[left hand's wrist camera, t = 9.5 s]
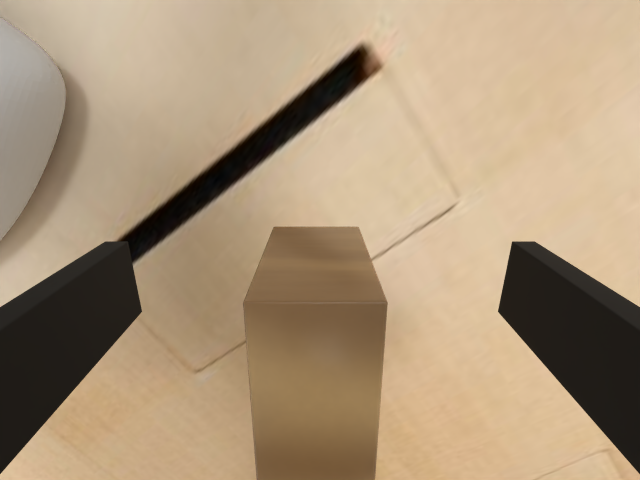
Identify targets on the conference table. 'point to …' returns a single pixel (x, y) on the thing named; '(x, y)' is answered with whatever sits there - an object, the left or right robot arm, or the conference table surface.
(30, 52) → the projector
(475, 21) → the conference table surface
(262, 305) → the bar
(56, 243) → the conference table surface
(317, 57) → the conference table surface
